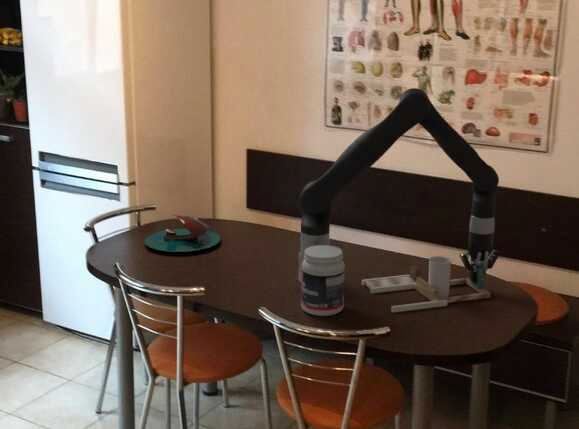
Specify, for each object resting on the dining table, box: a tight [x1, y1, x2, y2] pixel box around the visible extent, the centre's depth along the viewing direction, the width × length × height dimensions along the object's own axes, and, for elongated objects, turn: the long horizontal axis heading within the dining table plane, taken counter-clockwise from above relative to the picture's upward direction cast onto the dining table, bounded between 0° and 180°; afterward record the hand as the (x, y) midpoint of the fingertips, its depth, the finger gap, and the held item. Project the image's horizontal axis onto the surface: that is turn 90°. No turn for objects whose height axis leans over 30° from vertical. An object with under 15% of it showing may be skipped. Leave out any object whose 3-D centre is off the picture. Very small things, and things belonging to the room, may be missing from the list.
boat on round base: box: [144, 214, 221, 253], centre depth 299 cm, size 28×28×11 cm
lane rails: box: [361, 274, 448, 313], centre depth 252 cm, size 18×24×2 cm
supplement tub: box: [300, 245, 346, 317], centre depth 238 cm, size 13×13×18 cm
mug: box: [427, 255, 452, 298], centre depth 251 cm, size 10×7×12 cm, turn 140°
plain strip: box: [364, 264, 421, 291], centre depth 259 cm, size 17×5×5 cm, turn 107°
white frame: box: [414, 262, 491, 304], centre depth 252 cm, size 19×14×8 cm
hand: (477, 281), depth 255 cm, fingers closed on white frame, 2 cm apart
